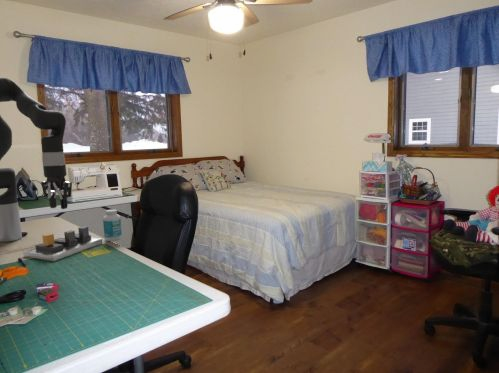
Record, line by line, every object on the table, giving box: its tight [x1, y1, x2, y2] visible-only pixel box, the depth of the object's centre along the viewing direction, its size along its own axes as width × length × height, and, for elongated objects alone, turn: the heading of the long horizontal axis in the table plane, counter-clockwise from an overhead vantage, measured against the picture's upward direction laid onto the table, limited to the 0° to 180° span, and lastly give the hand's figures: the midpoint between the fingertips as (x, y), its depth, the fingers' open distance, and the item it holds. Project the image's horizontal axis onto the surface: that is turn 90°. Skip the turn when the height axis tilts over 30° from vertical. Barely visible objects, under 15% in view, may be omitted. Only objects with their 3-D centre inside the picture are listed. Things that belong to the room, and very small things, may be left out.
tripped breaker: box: [42, 233, 55, 246], centre depth 141 cm, size 2×3×4 cm
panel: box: [23, 226, 104, 262], centre depth 148 cm, size 17×24×8 cm
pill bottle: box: [102, 209, 123, 242], centre depth 161 cm, size 8×7×14 cm
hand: (58, 208), depth 137 cm, fingers open, 5 cm apart
